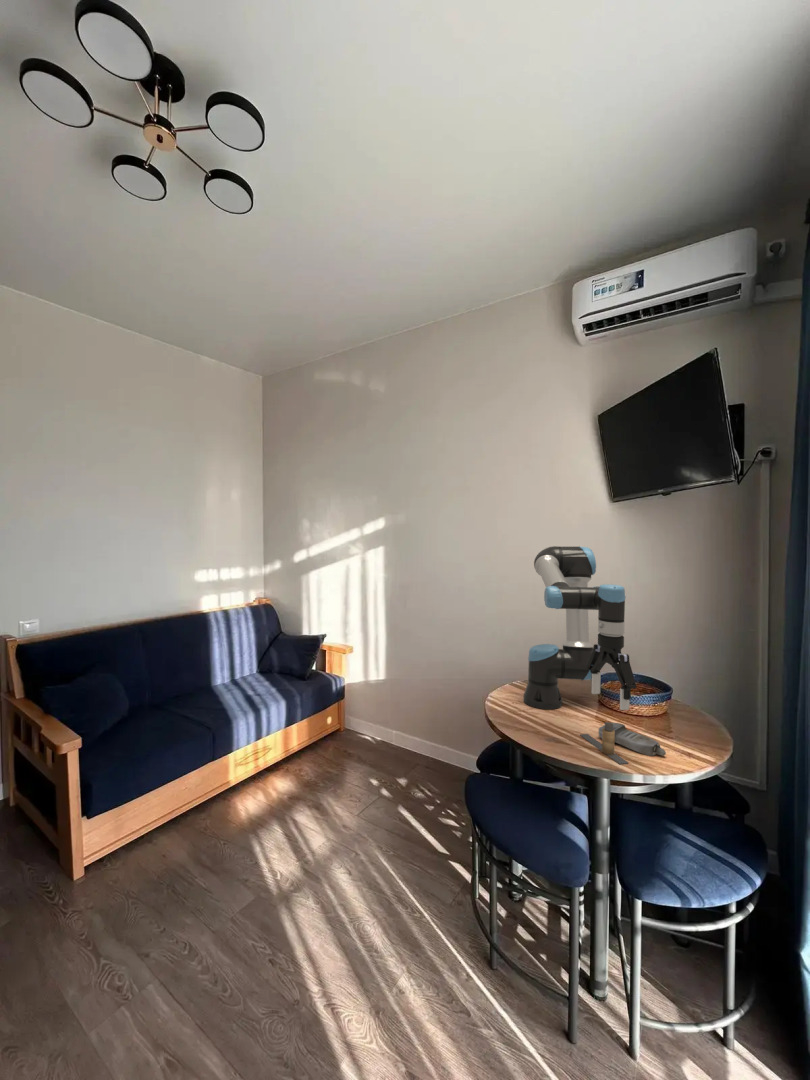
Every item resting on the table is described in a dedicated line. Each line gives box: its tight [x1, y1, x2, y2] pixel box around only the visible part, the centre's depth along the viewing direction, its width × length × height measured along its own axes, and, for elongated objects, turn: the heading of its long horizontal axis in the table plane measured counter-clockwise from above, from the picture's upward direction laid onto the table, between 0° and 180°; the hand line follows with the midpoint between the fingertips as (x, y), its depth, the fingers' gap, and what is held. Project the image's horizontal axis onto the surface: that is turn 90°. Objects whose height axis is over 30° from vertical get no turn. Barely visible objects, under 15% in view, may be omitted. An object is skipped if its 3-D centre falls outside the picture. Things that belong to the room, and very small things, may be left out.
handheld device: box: [597, 722, 667, 757], centre depth 146 cm, size 10×20×5 cm, turn 39°
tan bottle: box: [601, 721, 616, 755], centre depth 141 cm, size 4×4×9 cm
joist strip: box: [579, 733, 629, 765], centre depth 144 cm, size 20×3×1 cm, turn 13°
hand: (609, 701), depth 141 cm, fingers open, 13 cm apart
